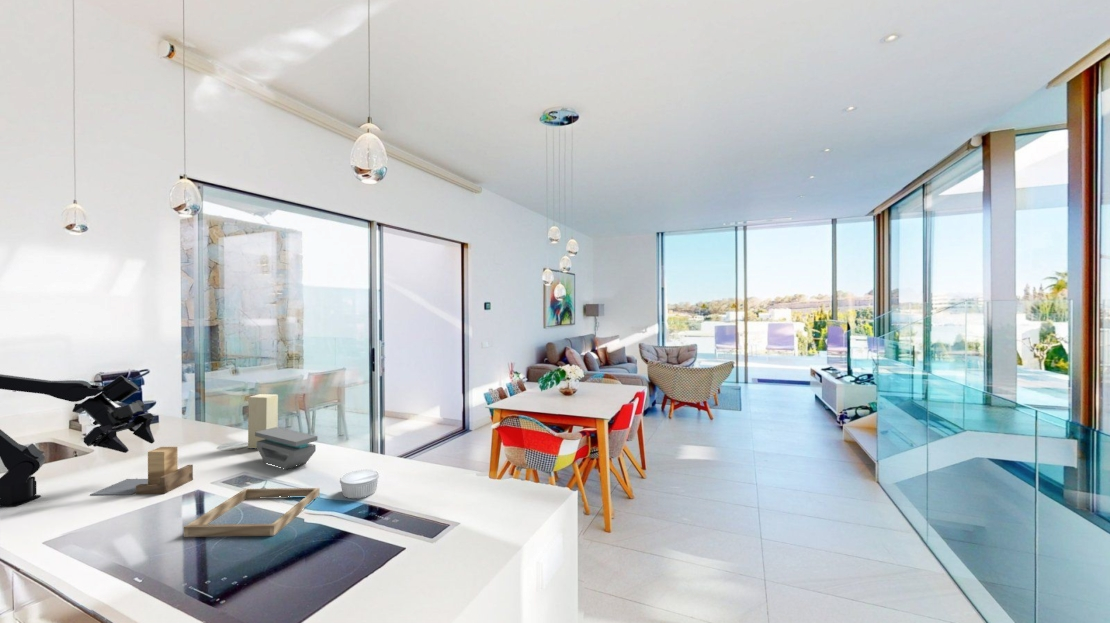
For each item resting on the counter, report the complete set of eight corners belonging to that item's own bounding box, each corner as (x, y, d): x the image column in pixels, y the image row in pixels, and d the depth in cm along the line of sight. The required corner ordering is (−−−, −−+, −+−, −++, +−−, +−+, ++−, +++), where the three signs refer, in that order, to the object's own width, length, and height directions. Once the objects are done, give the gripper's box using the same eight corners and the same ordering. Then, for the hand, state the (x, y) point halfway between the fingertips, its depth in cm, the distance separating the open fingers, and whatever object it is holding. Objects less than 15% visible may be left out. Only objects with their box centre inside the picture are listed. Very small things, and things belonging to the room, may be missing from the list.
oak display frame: (274, 535, 111) (273, 525, 111) (183, 536, 110) (183, 526, 110) (319, 496, 134) (319, 488, 134) (245, 497, 133) (245, 488, 133)
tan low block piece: (164, 493, 135) (164, 477, 135) (135, 494, 135) (135, 477, 135) (192, 479, 146) (192, 464, 146) (166, 480, 146) (166, 464, 146)
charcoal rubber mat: (131, 494, 134) (131, 493, 134) (90, 495, 134) (90, 494, 134) (164, 479, 146) (164, 478, 146) (127, 479, 146) (127, 478, 146)
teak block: (164, 490, 138) (164, 451, 138) (148, 490, 138) (147, 451, 138) (177, 483, 143) (177, 446, 143) (161, 483, 143) (161, 446, 143)
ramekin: (364, 502, 130) (364, 484, 130) (331, 498, 132) (331, 481, 132) (386, 487, 141) (386, 470, 141) (355, 484, 143) (355, 468, 143)
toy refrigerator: (279, 444, 184) (279, 393, 184) (266, 449, 177) (266, 397, 176) (261, 443, 185) (261, 393, 184) (247, 449, 177) (247, 397, 177)
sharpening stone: (255, 461, 164) (254, 432, 164) (276, 455, 171) (276, 426, 171) (296, 473, 152) (295, 442, 152) (317, 466, 159) (317, 436, 159)
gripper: (93, 400, 130) (132, 437, 131) (148, 388, 149) (182, 421, 150) (65, 427, 130) (104, 464, 131) (124, 412, 149) (158, 444, 149)
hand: (140, 446), depth 140 cm, fingers open, 9 cm apart
